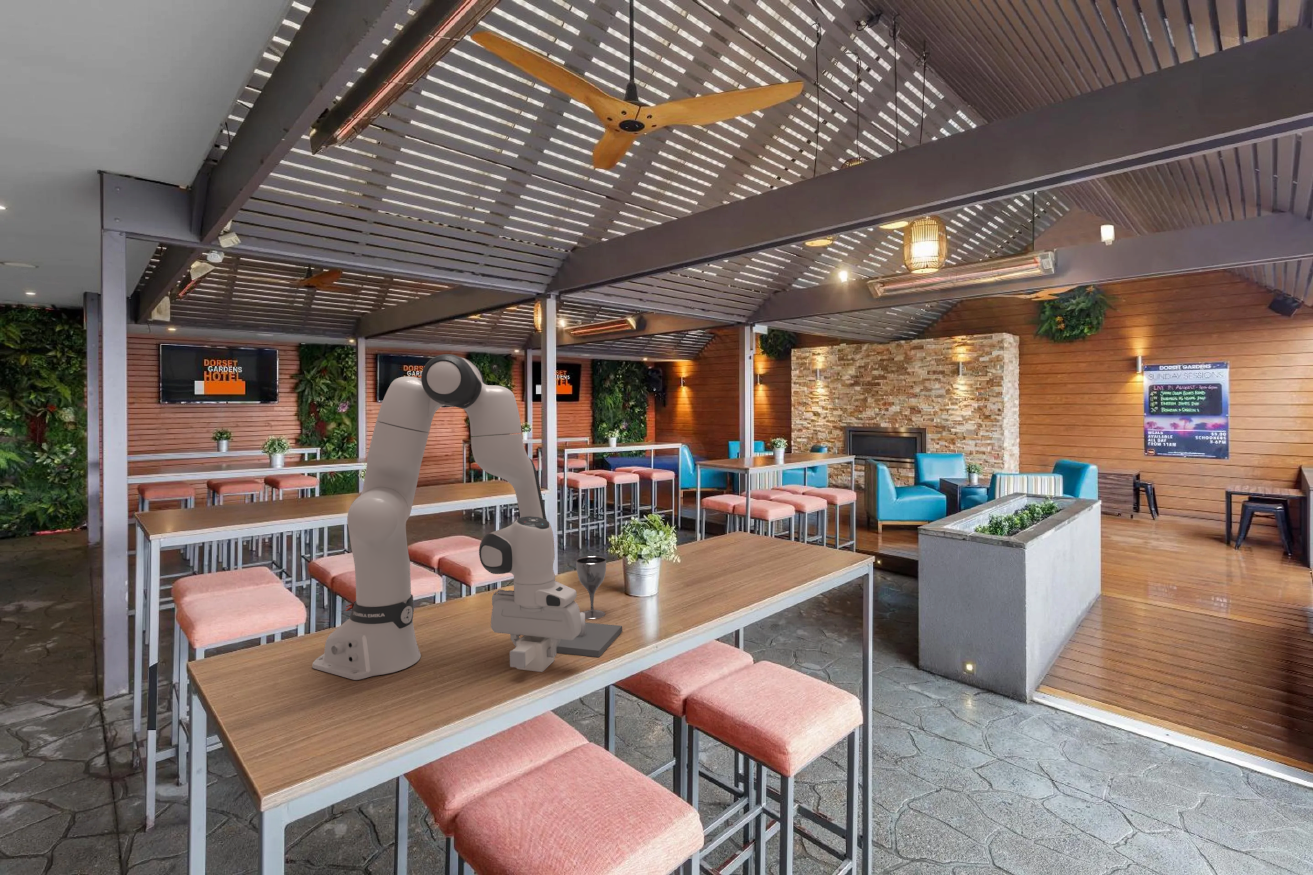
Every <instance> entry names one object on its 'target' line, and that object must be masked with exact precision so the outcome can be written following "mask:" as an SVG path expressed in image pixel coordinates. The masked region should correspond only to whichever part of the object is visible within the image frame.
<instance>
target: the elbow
mask: <svg viewBox="0 0 1313 875" xmlns="http://www.w3.org/2000/svg"><path fill="white" fill-rule="evenodd" d="M519 638H520V639H519V640H518V641H516V646H515V648H513V649H511V650H509V667H510V668H516V669H517V670H522V671H523V670H524V671H531V672H532V671H533V672H539V673H543V672H544V671H545V670H547V668H548V667H549V666H550V665H551V664H552V663H553V662H555V657H556V656H555V657H554V658H551V657H547V649H548V648H549V647H552V645H553V643H554V642H553V643H551V638H545V637H535V636H525V635H522V637H519Z"/></svg>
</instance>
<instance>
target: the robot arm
mask: <svg viewBox="0 0 1313 875" xmlns="http://www.w3.org/2000/svg"><path fill="white" fill-rule="evenodd" d="M514 394H515V393H513V391H512V390H511V389H509V388H508V387H505V386H502V385H493V384H492V385H490V384H489V385H488V384H486V383H485V379H484V376H483V374H482V372H481V370H480V369H479V368H478V367H477V366H476V365H475V364H473V363H472V361H470V360H469V359H467V358H464V357H461V356H458V355H455V354H451V353H450V354H448V353H445V354H440V355H436V356H434V357H432V358H431V359H429V360H428V361H427V362H426V363H425V364H424V366H423V368H422V371H421V376H420V377H415V376H409V375H408V376H401V377H400V376H399V377H398V378H397V377H396V378H395V379H393V381H392V382H391V383H390V385H389V387H388V388H387V390H386V392H385V394H384V397H383V400H382V402H381V404H380V407H379V411H378V414H377V418H376V421H375V424H374V429H373V433H372V436H371V441H370V445H369V448H368V452H367V458H366V467H365V474H364V480H363V486H362V491H361V493H360V495H358V497H356V498H355V500H354V501H353V502H352V503H351V504H350V507H349V509H348V512H347V515H346V516H347V520H346V523H347V528H348V534H349V542H350V548H351V551H352V552H351V553H352V558H353V563H354V574H355V600H354V601H353V603H350V604H347V605H346V606H345V608H346V609H345V612H348V611H350V610H351V612H350V615H349V618H348V619H347V620H346V621H344V622H343V623H342V624H341V625H340V626H338V627H337V628H336V629H335V630H333V631H332V632H331V633H330V634H329V635H328V637H327V638H326V640H325V645H324V653H323V654H321V655H320V656H318V657H316V659H315V660H313V662H312V669H315V670H318V671H320V672H321V671H322V672H325V673H329V674H332V675H336V676H339V677H342V678H347V679H350V680H353V681H358V680H364V679H366V678H369V677H375V676H380V675H388V674H392V673H396V672H398V671H401V670H405V669H407V668H409V667H411V666H413V665H414V664H416V663H418V662H419V661H420V659H421V657H422V654H421V651H420V649H419V644H418V643H417V637H416V632H415V627H414V620H413V619H414V611H415V609H414V606H415V605H414V595H413V594H412V584H411V581H412V580H411V579H412V578H411V560H410V555H409V547H408V541H407V540H408V539H407V538H408V537H407V521H408V520H409V518H410V516H411V513H412V507H413V504H414V499H415V495H416V490H417V485H418V481H419V476H420V472H421V466H422V462H423V458H424V454H425V450H426V448H427V442H428V438H429V435H430V431H431V427H432V422H433V419H434V417H435V414H436V412H437V411H438V410H439V409H440V408H454V407H455V408H459V409H462V410H464V411H465V412H466V415H467V416H468V419H469V428H470V442H471V443H470V444H471V452H472V456H473V460H474V462H475V463H476V465H478V467H479V468H481V469H482V470H483V471H484V472H486V473H487V474H489V475H492V476H494V477H497V478H500V479H503V480H504V481H507V482H508V484H510V485H511V486H512V488H513V490H514V492H515V497H516V502H517V505H518V506H517V507H518V510H519V511H518V512H519V516H520V517H519V518H517V519H516V520H515V521H514V522H513V523H511V524H510V525H508V526H506V527H504V528H500V529H497V530H494V531H492V532H489V533H487V534H485V535H484V536H483V538H482V539H481V541H480V544H479V548H478V555H479V560H480V563H481V565H482V567H483V568H484V569H485V570H486V571H487V572H488V573H490V574H493V575H504V574H512V576H513V590H510V589H509V590H507V589H506V590H505V589H498V590H496V591H495V592H493V594H492V596H491V605H492V609H491V617H490V628H491V630H492V631H493V633H495V634H507V635H509V636H510V641H511V642H512V643H513V646H514V647H516V641H518V640H519V639H520V638H521V637H520V636H524V635H525V636H535V637H545V638H551V643H553V642H554V643H553V645H552V647H549V648H548V649H547V657H551V658H554V657H556V656H557V653H556V647H557V646H558V644H559V642H560V641H561V639H565V640H573V639H575V638H576V637H577V636H578V635H579V634H580V632H581V617H580V612H581V610H580V607H579V605H578V603H577V602H576V601H575V600H576V598H577V590H576V589H574V588H573V587H569V586H567V585H565V584H563V583H561V582H559V581H556V575H555V572H554V562H555V554H556V553H555V539H554V538H555V537H554V532H553V528H552V526H551V523H550V521H548V519H547V515H546V511H545V505H544V500H543V496H542V490H541V486H540V481H539V476H538V472H537V469H536V466H535V463H534V460H532V459H531V457H529V455H528V453H527V451H526V448H525V445H524V441H523V434H522V423H521V418H520V412H519V408H518V403H517V400H516V397H515V395H514Z"/></svg>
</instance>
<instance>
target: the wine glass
mask: <svg viewBox="0 0 1313 875" xmlns="http://www.w3.org/2000/svg"><path fill="white" fill-rule="evenodd" d="M606 571H607V558H605V557H604V556H599V555H598V556H597V555H593V556H592V555H591V556H582V557H579V558H577V559H576V572H577V577H578V580H579V583H580V585H582V586H583V587H584V588H585V590H587V593H588V596H589V600H590V609H587V610H583V611H582V612H583V613H585V620H597V619H601V618H604V617H605V616H606V612H605V611H603V610H600V609H595V607H594V599H595V593H596V591H597V590H598V588H599V587H600V586H601V585H602V584H603V582H604V580H605V576H606Z"/></svg>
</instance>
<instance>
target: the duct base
mask: <svg viewBox="0 0 1313 875" xmlns="http://www.w3.org/2000/svg"><path fill="white" fill-rule="evenodd" d="M583 612H584V611H580V617H581V632H580V634H579V635H578V636H577V637H576V638H575V639H573V640H565V639H561V641H560V642H559V644H558V646H557V647H556V654H563V655H574V656H575V655H576V656H585V657H594V658H601V656H602V654H604V653H605V652H606V651H607V650H608V648H609V647H610V646H612V643H613V642H614V641H615V640H616V639H617V638H618V637H620V635H621V634H622V633H623V625H616V624H607V623H598V622H597V623H595V622H587V621H586V619H585V613H583Z"/></svg>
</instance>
